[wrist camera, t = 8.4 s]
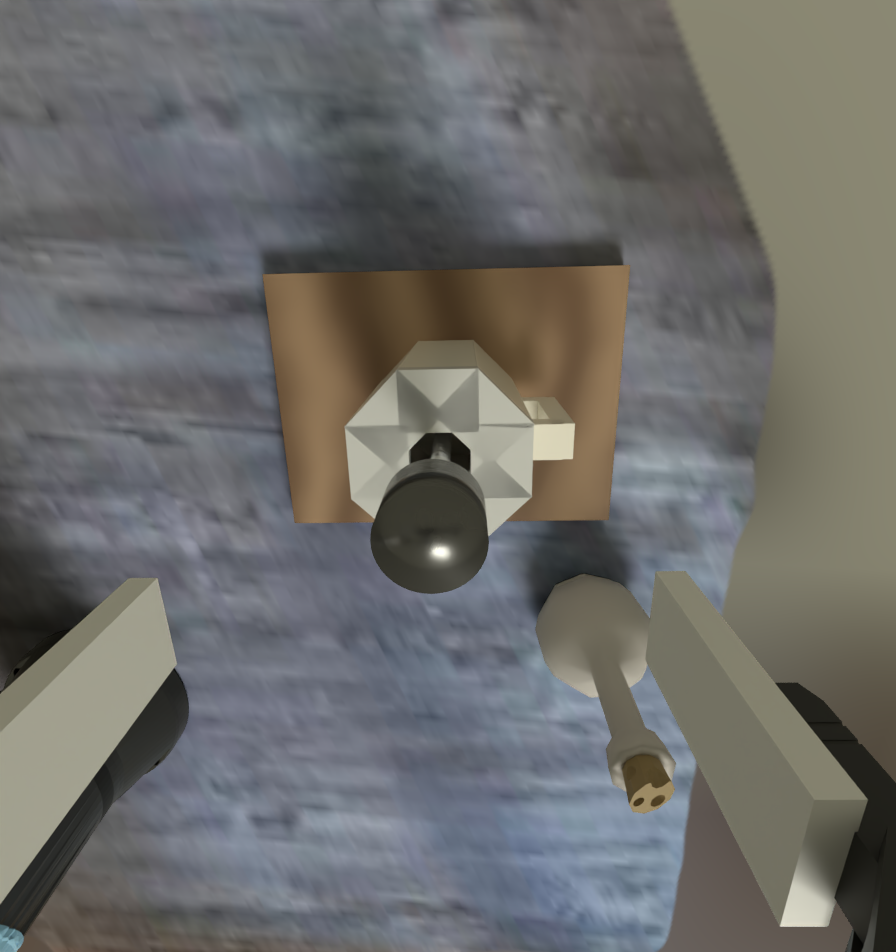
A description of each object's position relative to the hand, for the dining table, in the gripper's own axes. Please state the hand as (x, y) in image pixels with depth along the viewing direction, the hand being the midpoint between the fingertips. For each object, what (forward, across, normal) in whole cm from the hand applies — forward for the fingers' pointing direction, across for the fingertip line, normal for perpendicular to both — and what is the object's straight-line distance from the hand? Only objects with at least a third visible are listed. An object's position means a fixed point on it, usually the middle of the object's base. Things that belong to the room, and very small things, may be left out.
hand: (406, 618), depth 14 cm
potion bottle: (+27, +12, -18) cm, 34 cm away
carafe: (+26, +2, 0) cm, 26 cm away
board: (+27, +1, 0) cm, 27 cm away
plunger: (+24, +1, 0) cm, 24 cm away
